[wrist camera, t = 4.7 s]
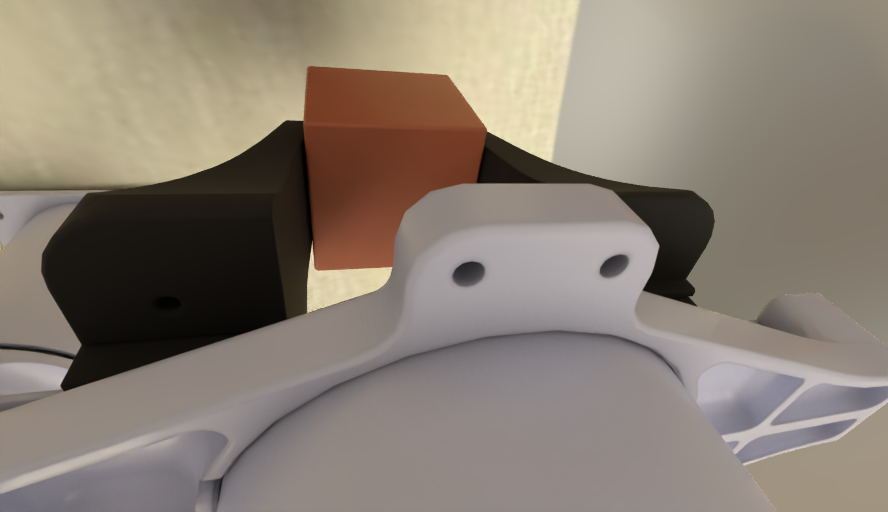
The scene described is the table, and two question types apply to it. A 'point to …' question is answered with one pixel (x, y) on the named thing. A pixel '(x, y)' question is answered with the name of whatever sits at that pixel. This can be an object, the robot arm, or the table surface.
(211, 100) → the table surface
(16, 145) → the table surface
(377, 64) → the table surface
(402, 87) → the block
